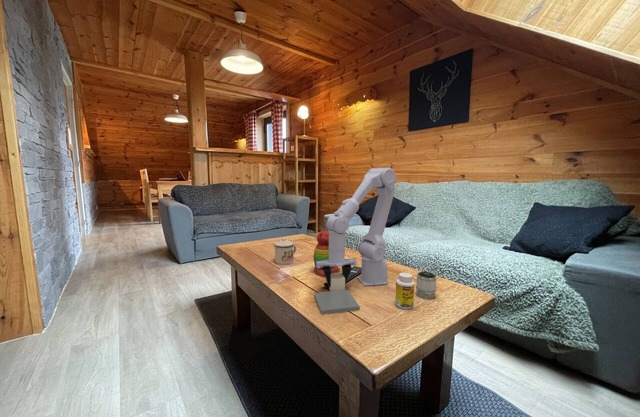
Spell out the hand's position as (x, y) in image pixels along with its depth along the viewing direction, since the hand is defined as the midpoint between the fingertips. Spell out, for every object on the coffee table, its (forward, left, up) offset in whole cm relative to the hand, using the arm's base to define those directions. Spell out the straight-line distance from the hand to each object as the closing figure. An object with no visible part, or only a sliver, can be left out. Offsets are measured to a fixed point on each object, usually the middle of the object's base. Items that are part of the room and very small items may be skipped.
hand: (336, 285), depth 95 cm
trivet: (+3, +10, -1) cm, 11 cm away
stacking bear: (0, -18, -2) cm, 18 cm away
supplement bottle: (-18, +16, -2) cm, 24 cm away
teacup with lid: (+15, -35, -2) cm, 38 cm away
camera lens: (-29, +11, -2) cm, 31 cm away
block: (0, 0, -1) cm, 1 cm away
